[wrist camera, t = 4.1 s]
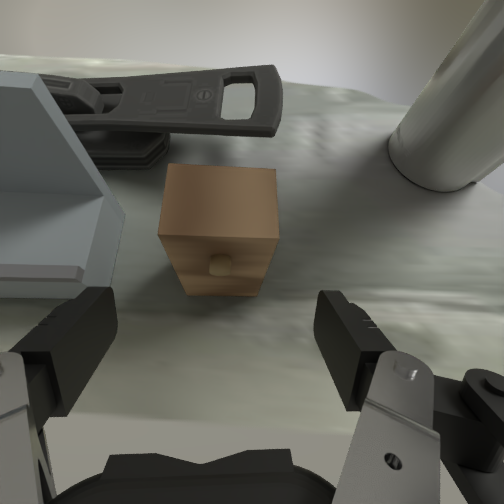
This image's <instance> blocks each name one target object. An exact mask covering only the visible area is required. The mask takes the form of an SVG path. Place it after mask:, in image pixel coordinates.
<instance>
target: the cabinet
mask: <svg viewBox="0 0 504 504" xmlns="http://www.w3.org/2000/svg"><path fill="white" fill-rule="evenodd" d="M158 236H159V238H160V240H161V243H162V245H163V247H164V249H165V251H166V253H167V255H168V257H169V259H170V261H171V263H172V265H173V267H174V270H175V272H176V274H177V276H178V278H179V280H180V282H181V284H182V286H183V288H184V290H185V292H186V294H187V295H194V296H257V295H258V292H259V290H260V287H261V285H262V282H263V279H264V277H265V274H266V272H267V269H268V267H269V264H270V261H271V259H272V256H273V254H274V251H275V249H276V246H277V244H278V241H279V221H278V202H277V184H276V169H265V168H246V167H228V166H209V165H191V164H172V163H168V169H167V176H166V182H165V189H164V195H163V202H162V209H161V215H160V222H159V228H158Z"/></svg>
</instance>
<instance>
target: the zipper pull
mask: <svg viewBox="0 0 504 504" xmlns="http://www.w3.org/2000/svg"><path fill="white" fill-rule="evenodd" d="M0 71H1V70H0ZM9 72H13V71H9ZM21 73H25V72H21ZM34 74H35V73H34ZM39 76H40V78H41V79H42V81H43V82H44V84H45V86H46V87H47V89H48V90H49V92H50V94H51V95H52V97H53V98H54V100H55V102H56V103H57V105H58V107H59V108H60V110H61V111H62V113H63V115H64V116H65V118H66V119H67V121H68V123H69V124H70V126H71V128H72V129H73V131H74V132H75V134H76V136H77V137H78V139H79V140H80V142H81V144H82V145H83V147H84V148H85V150H86V152H87V153H88V155H89V157H90V158H91V160H92V161H93V163H94V165H95V166H96V168H97V169H102V170H143V169H150V168H151V167H152V166H153V165H154V164H155V163H156V162H157V161H158V160H159V159H160V158H161V157H163V156H164V155H165V154H166V153H167V151H168V146H169V142H170V133H182V134H205V135H223V136H245V137H270V138H272V137H274V136H275V134H276V131H277V129H278V126H279V124H280V121H281V115H282V106H283V89H282V83H281V78H280V76H279V74H278V72H277V70H276V67H275V66H274V65H261V66H249V67H236V68H226V69H215V70H203V71H191V72H179V73H167V74H155V75H142V76H130V77H110V78H84V79H76V78H69V77H62V76H55V75H46V74H39ZM234 83H253V85H254V88H255V108H254V110H253V113H252V115H251V118H249V119H241V120H225V119H223V118H221V109H222V101H223V93H224V87H225V86H228V85H230V84H234Z"/></svg>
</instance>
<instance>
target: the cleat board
mask: <svg viewBox="0 0 504 504" xmlns="http://www.w3.org/2000/svg"><path fill="white" fill-rule="evenodd" d="M124 218H125V213H124V211H123V210H122V208H121V206H120V205H119V203H118V202H117V200H116V198H115V197H114V195H113V194H112V192H111V190H110V189H109V187H108V186H107V184H106V182H105V181H104V179H103V177H102V176H101V174H100V173H99V171H98V169H97V168H96V166H95V165H94V163H93V161H92V160H91V158H90V157H89V155H88V153H87V152H86V150H85V148H84V147H83V145H82V144H81V142H80V140H79V139H78V137H77V136H76V134H75V132H74V131H73V129H72V128H71V126H70V124H69V123H68V121H67V119H66V118H65V116H64V115H63V113H62V111H61V110H60V108H59V107H58V105H57V103H56V102H55V100H54V98H53V97H52V95H51V94H50V92H49V90H48V89H47V87H46V86H45V84H44V82H43V81H42V79H41V78H40V76H39V74H34V73H21V72H9V71H0V298H54V299H75V298H76V297H77V296H78V295H79V294H80V293H81V292H82V291H83V290H84V289H86V288H87V287H88V286H99V287H110V284H111V279H112V274H113V269H114V265H115V260H116V255H117V251H118V246H119V241H120V237H121V232H122V227H123V222H124Z"/></svg>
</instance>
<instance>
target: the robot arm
mask: <svg viewBox="0 0 504 504" xmlns="http://www.w3.org/2000/svg"><path fill="white" fill-rule="evenodd" d="M388 149H389V154H390V157H391V159H392V161H393V163H394V164H395V166H396V167H397V169H398V170H399V171H400V172H401V173H402V174H403V175H404V176H406V177H407V178H408V179H409V180H411V181H412V182H414V183H416V184H418V185H420V186H422V187H425V188H427V189H430V190H435V191H442V192H450V191H456V190H459V189H461V188H463V187H464V186H466V185H467V184H468V183H470V182H479V181H481V180H482V179H483V178H484V177H486V176H487V175H488V174H490V173H491V172H492V171H494V170H495V169H496V168H497V167H499V166H500V165H501V164H503V163H504V0H485V1H484V3H483V4H482V6H481V7H480V8H479V10H478V11H477V13H476V14H475V16H474V17H473V19H472V20H471V21H470V23H469V24H468V26H467V27H466V29H465V30H464V32H463V33H462V35H461V36H460V37H459V39H458V40H457V42H456V43H455V45H454V46H453V48H452V49H451V50H450V52H449V53H448V55H447V56H446V58H445V59H444V60H443V62H442V64H441V65H440V66H439V68H438V69H437V71H436V72H435V74H434V75H433V76H432V78H431V79H430V81H429V82H428V84H427V85H426V86H425V88H424V89H423V91H422V92H421V94H420V95H419V96H418V98H417V99H416V101H415V103H414V104H413V105H412V107H411V108H410V109H409V111H408V112H407V114H406V115H405V117H404V118H403V120H402V121H401V122H400V124H399V125H398V127H397V128H396V130H395V131H394V133H393V134H392V136H391V138H390V140H389V145H388ZM117 327H118V321H117V314H116V307H115V300H114V293H113V290H112V288H111V287H99V286H88V287H87V288H86V289H84V290H83V291H82V292H81V293H80V294H79V295H78V296H77V297H76V298H75V299H71V300H69V301H67V302H65V303H64V304H62V305H60V306H58V307H56V308H55V309H54V310H53V311H52V312H51V313H50V314H49V315H48V316H47V318H44V319H43V320H42V321H41V322H40V323H39V324H38V326H36V327H35V328H33V329H32V330H31V331H30V332H29V333H28V334H27V335H26V336H25V337H24V338H22V339H21V340H20V341H19V342H18V343H17V344H16V345H15V346H14V347H13V348H12V349H10V350H9V351H8V352H2V353H0V504H440V459H441V461H442V462H443V464H444V465H445V467H446V469H447V470H448V472H449V474H450V475H451V477H452V478H453V480H454V481H455V483H456V485H457V487H458V488H459V490H460V491H461V493H462V495H463V496H464V498H465V500H466V501H467V503H468V504H504V462H503V460H504V376H502V375H499V374H497V373H494V372H492V371H488V370H484V369H470V370H468V371H467V372H466V373H465V376H464V378H463V380H462V381H458V380H453V379H449V378H444V377H440V376H436V375H433V373H432V371H431V369H430V368H429V367H428V366H427V365H426V364H425V363H423V362H422V361H421V360H419V359H418V358H416V357H414V356H412V355H410V354H407V353H404V352H400V351H397V350H396V349H395V348H394V346H393V345H392V344H391V343H390V342H389V340H388V339H387V338H386V337H385V335H384V334H383V333H382V332H381V330H380V329H379V328H377V326H376V324H375V323H374V322H373V321H371V318H370V317H369V316H368V314H367V313H366V312H365V311H364V310H363V309H361V308H360V307H358V306H357V305H355V304H354V303H349V302H348V300H347V299H346V298H345V297H344V295H343V294H342V293H341V291H329V290H321V291H320V292H319V295H318V300H317V306H316V312H315V319H314V336H315V340H316V342H317V344H318V347H319V349H320V351H321V354H322V356H323V358H324V360H325V363H326V365H327V367H328V370H329V372H330V374H331V376H332V379H333V381H334V383H335V386H336V388H337V390H338V393H339V395H340V397H341V399H342V402H343V404H344V406H345V409H346V411H360V412H361V414H360V417H359V420H358V423H357V426H356V429H355V432H354V435H353V439H352V442H351V445H350V448H349V451H348V454H347V457H346V461H345V464H344V467H343V470H342V473H341V476H340V480H339V482H338V486H337V488H335V487H334V486H333V485H332V484H331V483H329V482H328V481H326V480H325V479H323V478H322V477H321V476H319V475H317V474H315V473H313V472H312V471H309V470H307V469H304V468H302V467H299V466H295V465H293V463H292V457H291V452H290V449H267V450H246V451H243V452H240V453H237V454H234V455H231V456H227V457H224V458H221V459H218V460H215V461H211V462H208V463H205V464H196V463H192V462H188V461H184V460H180V459H176V458H173V457H169V456H164V455H160V454H157V453H148V454H119V455H110V456H109V458H108V461H107V463H106V466H105V468H104V471H103V473H100V474H97V475H94V476H92V477H90V478H87V479H85V480H83V481H81V482H79V483H77V484H75V485H73V486H72V487H70V488H68V489H67V490H65V491H64V492H62V493H61V494H59V495H57V494H56V490H55V485H54V479H53V473H52V468H51V462H50V457H49V452H48V446H47V441H46V435H45V431H44V427H43V426H44V424H45V423H46V421H47V420H48V418H49V417H67V415H68V414H69V412H70V410H71V409H72V407H73V406H74V404H75V402H76V401H77V399H78V397H79V396H80V394H81V393H82V391H83V389H84V388H85V386H86V384H87V383H88V381H89V379H90V378H91V376H92V375H93V373H94V371H95V370H96V368H97V366H98V365H99V363H100V362H101V360H102V358H103V357H104V355H105V353H106V352H107V350H108V348H109V347H110V345H111V344H112V342H113V340H114V339H115V336H116V333H117Z"/></svg>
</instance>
